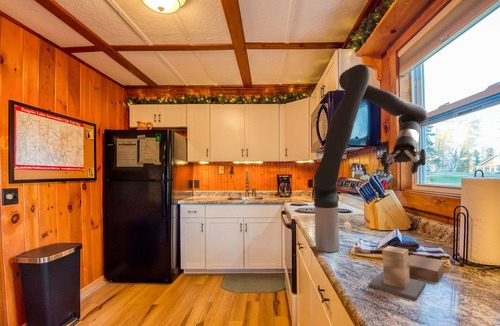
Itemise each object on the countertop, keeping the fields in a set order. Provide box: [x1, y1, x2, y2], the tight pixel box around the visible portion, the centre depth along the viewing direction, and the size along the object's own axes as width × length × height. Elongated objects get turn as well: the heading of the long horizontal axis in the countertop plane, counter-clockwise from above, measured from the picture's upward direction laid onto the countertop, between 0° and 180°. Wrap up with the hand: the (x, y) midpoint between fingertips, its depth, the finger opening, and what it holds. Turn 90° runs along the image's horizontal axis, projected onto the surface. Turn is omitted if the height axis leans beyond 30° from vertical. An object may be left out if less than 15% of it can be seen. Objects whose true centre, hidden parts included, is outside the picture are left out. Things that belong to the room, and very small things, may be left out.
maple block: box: [382, 245, 411, 289], centre depth 69 cm, size 5×5×9 cm
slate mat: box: [368, 271, 427, 301], centre depth 69 cm, size 11×11×1 cm
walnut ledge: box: [409, 254, 445, 283], centre depth 78 cm, size 9×11×3 cm
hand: (399, 172), depth 91 cm, fingers open, 8 cm apart
